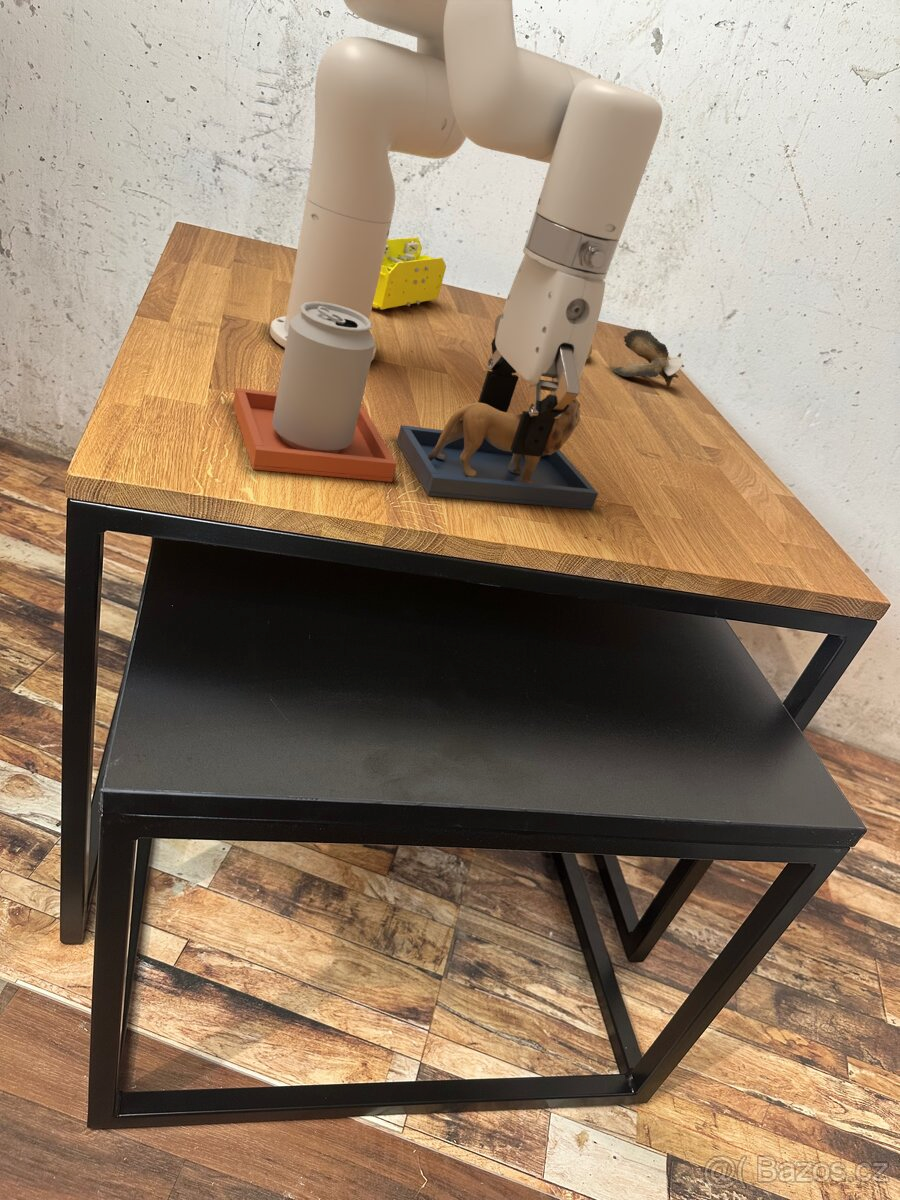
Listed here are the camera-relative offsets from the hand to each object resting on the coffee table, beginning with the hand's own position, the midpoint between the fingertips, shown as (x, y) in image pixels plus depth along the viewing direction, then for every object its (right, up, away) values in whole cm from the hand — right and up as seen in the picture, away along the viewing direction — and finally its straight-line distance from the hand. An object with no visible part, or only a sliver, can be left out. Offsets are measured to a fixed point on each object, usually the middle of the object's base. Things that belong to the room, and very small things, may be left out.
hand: (508, 431), depth 83 cm
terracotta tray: (-19, -2, -3) cm, 19 cm away
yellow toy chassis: (-14, +27, +44) cm, 53 cm away
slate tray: (-1, -4, +3) cm, 5 cm away
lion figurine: (-1, -4, +3) cm, 5 cm away
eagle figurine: (+23, +17, +47) cm, 55 cm away
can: (-18, -2, -3) cm, 19 cm away
